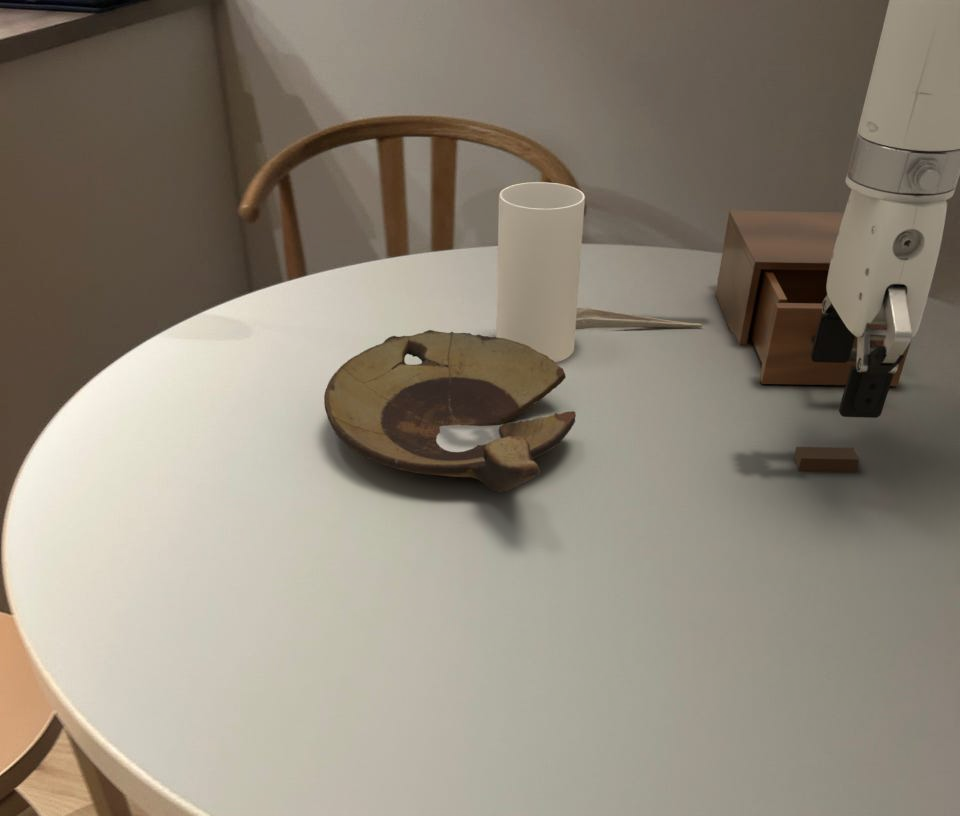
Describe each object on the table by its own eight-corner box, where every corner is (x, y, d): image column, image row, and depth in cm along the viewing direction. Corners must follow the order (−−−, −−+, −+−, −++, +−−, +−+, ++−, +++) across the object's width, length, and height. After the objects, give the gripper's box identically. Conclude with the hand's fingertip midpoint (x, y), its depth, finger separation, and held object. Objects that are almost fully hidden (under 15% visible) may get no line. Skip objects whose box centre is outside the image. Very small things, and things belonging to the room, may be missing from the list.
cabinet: (875, 354, 105) (901, 264, 99) (737, 352, 106) (754, 261, 99) (839, 296, 117) (860, 212, 111) (715, 294, 117) (729, 210, 111)
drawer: (910, 407, 95) (935, 328, 90) (769, 404, 95) (786, 326, 90) (858, 325, 109) (878, 253, 104) (736, 323, 109) (749, 251, 104)
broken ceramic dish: (563, 378, 101) (568, 305, 96) (586, 553, 78) (594, 468, 73) (343, 376, 101) (337, 302, 96) (302, 550, 78) (291, 465, 73)
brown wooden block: (846, 464, 88) (852, 445, 87) (854, 481, 86) (860, 461, 85) (740, 462, 89) (744, 443, 87) (745, 479, 86) (749, 459, 85)
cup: (484, 362, 103) (486, 202, 93) (512, 331, 109) (516, 177, 99) (558, 376, 101) (569, 214, 91) (583, 344, 107) (595, 188, 96)
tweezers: (545, 335, 108) (548, 317, 107) (543, 318, 112) (545, 301, 111) (703, 346, 109) (707, 329, 108) (695, 329, 113) (699, 312, 112)
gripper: (1002, 206, 64) (921, 441, 75) (919, 134, 77) (860, 343, 88) (886, 203, 64) (822, 438, 75) (823, 132, 77) (776, 341, 88)
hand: (843, 387), depth 82 cm, fingers open, 9 cm apart
